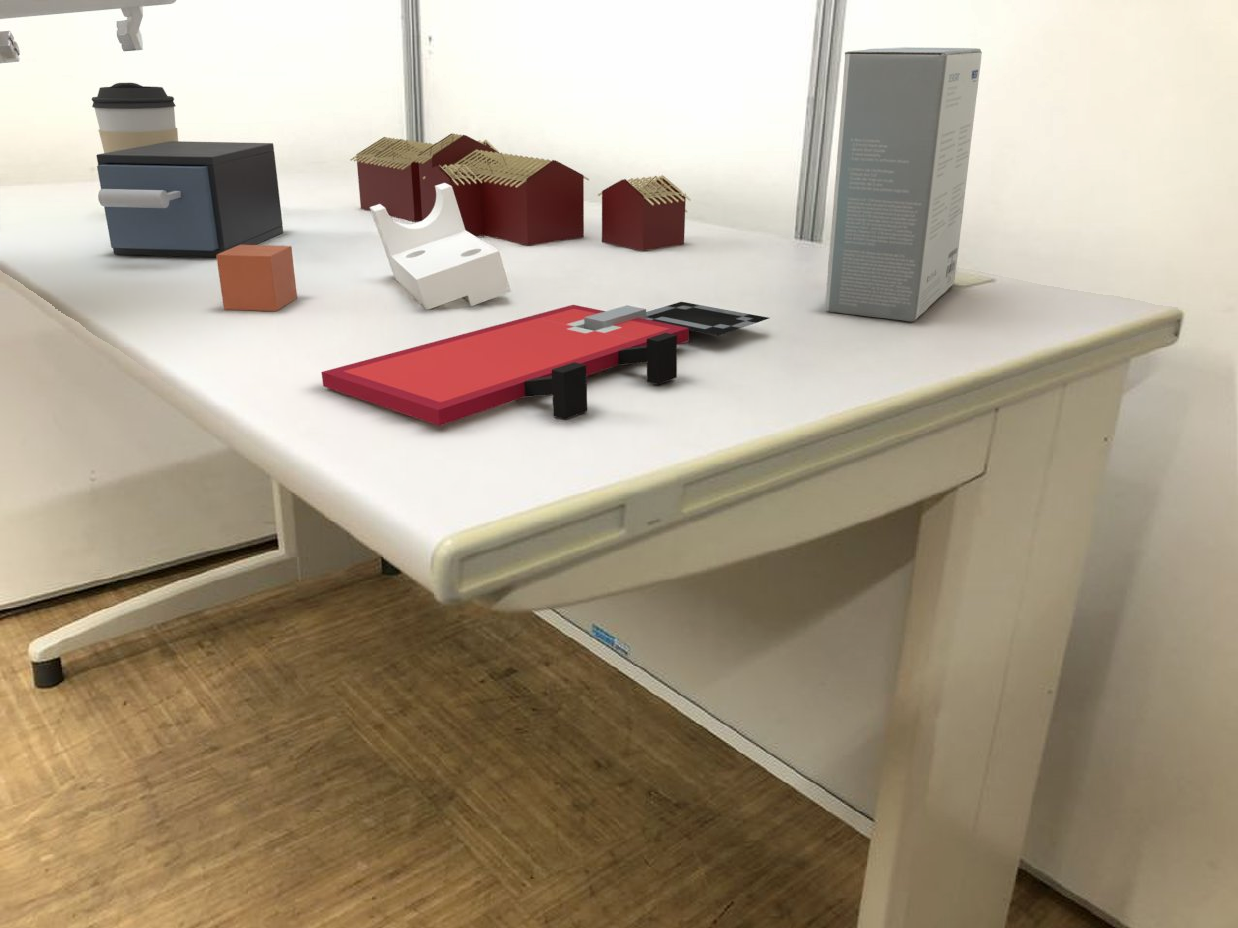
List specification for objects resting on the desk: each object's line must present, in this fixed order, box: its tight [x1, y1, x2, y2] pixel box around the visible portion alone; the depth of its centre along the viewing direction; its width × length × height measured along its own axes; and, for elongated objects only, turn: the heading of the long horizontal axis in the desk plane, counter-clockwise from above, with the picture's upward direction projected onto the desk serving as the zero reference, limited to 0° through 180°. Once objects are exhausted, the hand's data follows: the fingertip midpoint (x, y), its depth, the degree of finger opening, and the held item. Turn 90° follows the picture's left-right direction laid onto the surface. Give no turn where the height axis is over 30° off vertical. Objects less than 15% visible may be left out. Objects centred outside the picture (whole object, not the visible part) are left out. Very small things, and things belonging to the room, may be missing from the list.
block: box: [215, 244, 298, 312], centre depth 83 cm, size 4×4×4 cm
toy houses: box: [349, 133, 691, 252], centre depth 118 cm, size 45×20×10 cm, turn 42°
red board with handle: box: [321, 301, 770, 427], centre depth 69 cm, size 30×3×15 cm
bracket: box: [370, 183, 512, 311], centre depth 87 cm, size 13×7×8 cm, turn 23°
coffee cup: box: [91, 82, 179, 153], centre depth 123 cm, size 9×9×15 cm
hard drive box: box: [824, 46, 983, 322], centre depth 84 cm, size 16×8×20 cm, turn 152°
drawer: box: [96, 164, 219, 251], centre depth 103 cm, size 18×10×8 cm, turn 175°
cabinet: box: [96, 140, 284, 258], centre depth 106 cm, size 15×12×10 cm
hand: (72, 51), depth 83 cm, fingers open, 8 cm apart
